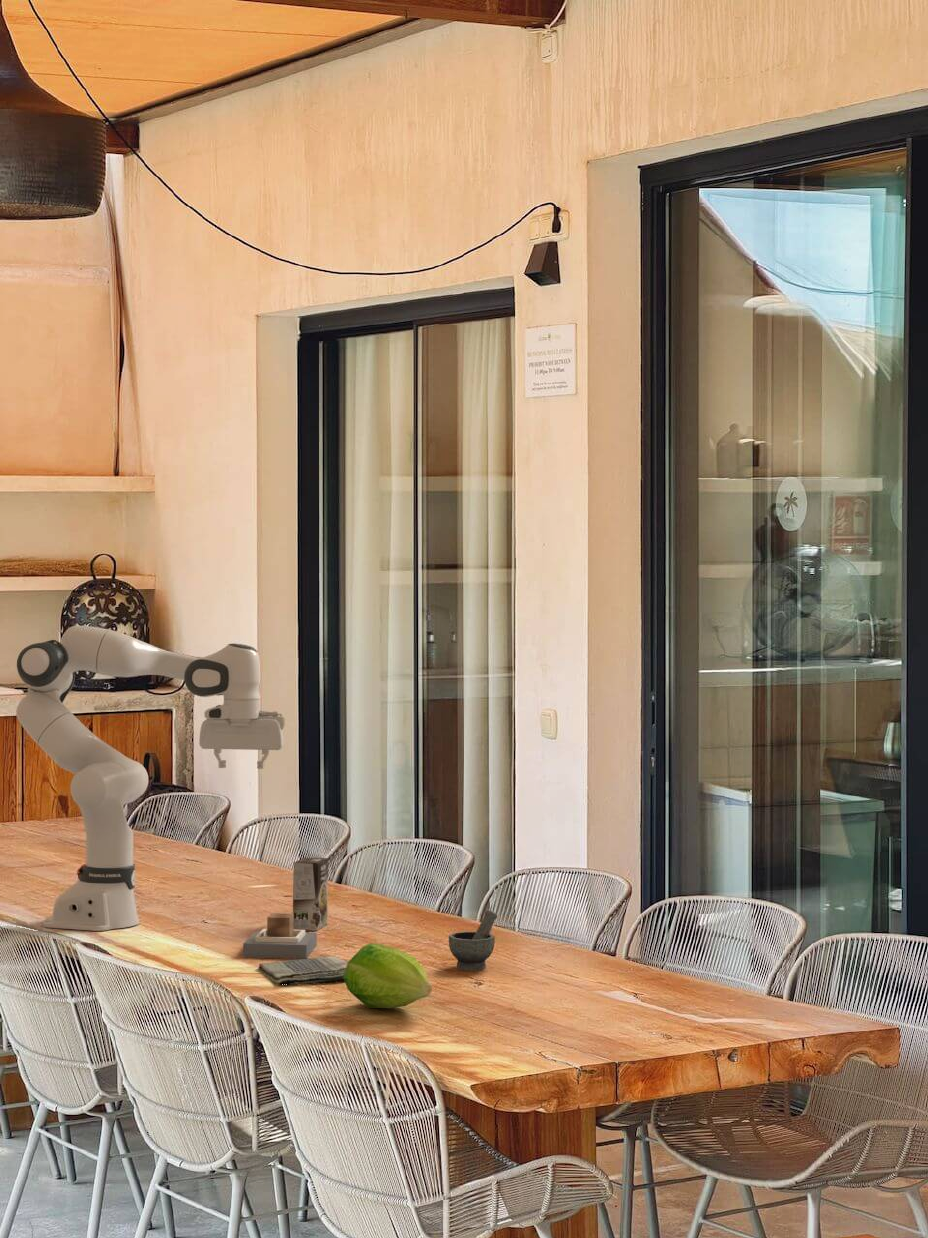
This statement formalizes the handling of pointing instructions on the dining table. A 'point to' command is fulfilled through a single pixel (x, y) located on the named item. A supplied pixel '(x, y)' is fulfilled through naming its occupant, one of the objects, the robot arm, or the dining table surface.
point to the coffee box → (310, 893)
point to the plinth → (280, 945)
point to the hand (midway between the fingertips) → (241, 768)
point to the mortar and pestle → (474, 945)
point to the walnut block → (280, 925)
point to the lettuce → (386, 977)
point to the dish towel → (305, 971)
